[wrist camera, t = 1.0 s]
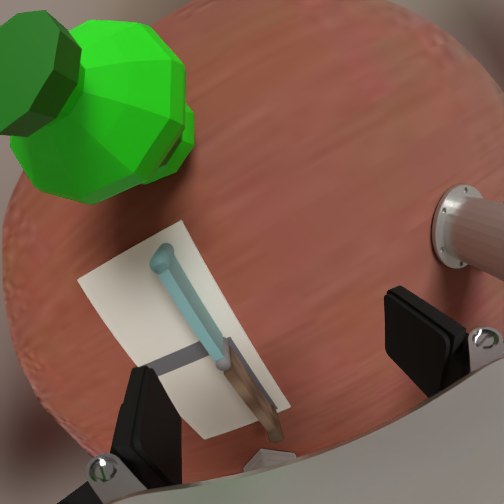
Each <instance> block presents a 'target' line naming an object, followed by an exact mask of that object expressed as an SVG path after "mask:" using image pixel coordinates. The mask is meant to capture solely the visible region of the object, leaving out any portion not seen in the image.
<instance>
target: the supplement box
mask: <svg viewBox="0 0 504 504" xmlns="http://www.w3.org/2000/svg"><path fill="white" fill-rule="evenodd" d="M295 458H296V455H295V453H290V452H282V451H274V450H268V449H262V448H261V449H260V450H259V451H258V452H257V453H256V454H255V455H254V457H253V458H252V459H251V460H250V461H249V462H248V463H247V464H246V465H245V466H244V468H243V470H244V472H248V471H252V470H256V469H260V468H264V467H268V466H271V465H275V464H278V463H282V462H285V461H288V460H291V459H295Z"/></svg>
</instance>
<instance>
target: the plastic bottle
mask: <svg viewBox="0 0 504 504" xmlns="http://www.w3.org/2000/svg"><path fill="white" fill-rule="evenodd" d="M185 99H186V70H185V67H184V64H183V63H182V62H181V61H180V60H179V58H178V57H177V56H176V55H175V54H174V53H173V52H172V50H171V49H170V48H169V47H168V46H167V45H166V44H165V42H164V41H163V40H162V39H161V38H160V37H159V36H158V35H157V34H156V32H155V31H154V30H153V29H152V28H151V27H150V26H147V25H144V24H140V23H133V22H122V21H104V20H89V21H87V22H85V23H83V24H81V25H79V26H77V27H75V28H74V29H72V30H70V31H68V30H67V29H66V28H65V27H64V26H63V25H62V24H60V23H59V22H58V21H57V20H56V19H55V18H54V17H52V16H51V15H50V14H49V13H48V12H47V11H46V10H41V11H33V12H24V13H18V14H16V15H15V16H13V17H12V18H11V19H10V20H8V21H7V22H6V23H4V24H3V25H2V26H1V27H0V135H9V136H10V147H11V149H12V151H13V153H14V154H15V156H16V158H17V159H18V161H19V163H20V164H21V166H22V168H23V169H24V171H25V172H26V174H27V176H28V177H29V179H30V180H31V182H32V183H33V185H34V186H35V187H36V188H37V189H39V190H40V191H42V192H44V193H47V194H51V195H55V196H59V197H63V198H66V199H70V200H74V201H78V202H81V203H85V204H89V205H93V204H96V203H99V202H101V201H104V200H106V199H108V198H110V197H112V196H114V195H116V194H119V193H121V192H123V191H125V190H128V189H130V188H132V187H134V186H137V185H139V184H144V185H145V184H149V183H151V182H153V181H156V180H158V179H161V178H163V177H166V176H168V175H171V174H173V173H176V172H177V171H178V169H179V168H180V166H181V165H182V163H183V162H184V160H185V159H186V157H187V156H188V154H189V153H190V151H191V150H192V149H193V147H194V113H193V112H192V110H191V109H190V108H189V107H188V105H187V104H186V103H185Z"/></svg>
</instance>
